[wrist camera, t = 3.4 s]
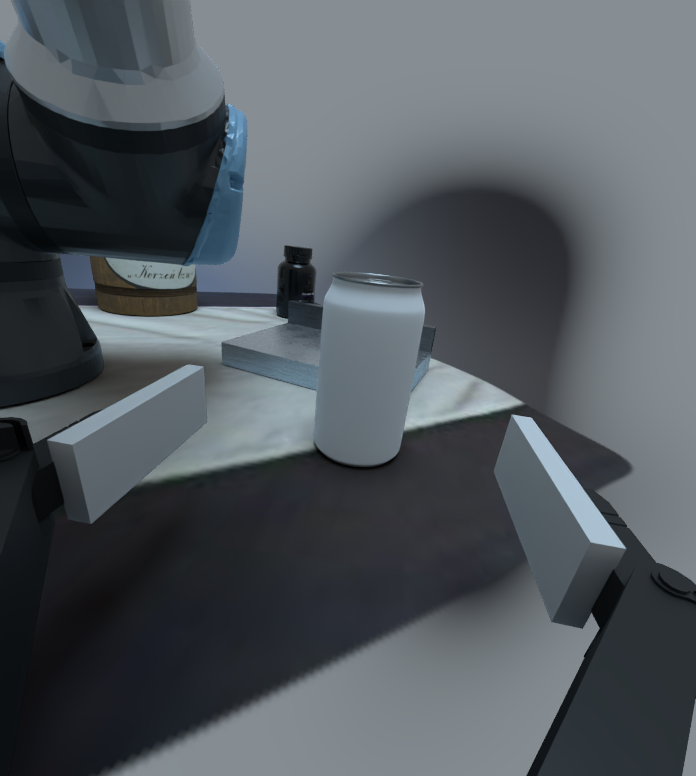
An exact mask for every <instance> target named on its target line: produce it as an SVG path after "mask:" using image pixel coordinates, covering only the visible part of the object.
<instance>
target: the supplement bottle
mask: <svg viewBox="0 0 696 776" xmlns="http://www.w3.org/2000/svg"><path fill="white" fill-rule="evenodd" d="M284 256H285V260H284V261H283V262H281V263H280V264H279V266H278V276H277V304H276V312H277V314H278V315H279V316H282V317H285V318H288V307H289V301H291V300H294V301H299V302H305V303H310V304H314V298H315V285H316V284H315V283H316V268H315V267H314V266H313V265H312V264H311V263H310V260H311V259H312V249H311V248H304V247H297V246H287V245H285V249H284Z"/></svg>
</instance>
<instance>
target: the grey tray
mask: <svg viewBox="0 0 696 776" xmlns="http://www.w3.org/2000/svg"><path fill="white" fill-rule="evenodd" d="M322 315H323V306H321V305H316V304H310V303H305V302H299V301H294V300H291V301H289V307H288V323H286V324H282V325H279V326H275V327H272V328H268V329H265V330H261V331H258V332H255V333H251V334H248V335H244V336H241V337H237V338H234V339H230V340H227V341H223V342H221V344H222V364H224V365H228V366H231V367H235V368H238V369H242V370H246V371H249V372H253V373H256V374H260V375H264V376H267V377H271V378H274V379H278V380H282V381H285V382H289V383H292V384H296V385H299V386H303V387H307V388H310V389H314V390H317V381H318V368H319V354H320V341H321V328H322ZM435 332H436V327H434V326H429V325H424V324H423V328H422V334H421V339H420V345H419V350H418V356H417V361H416V366H415V372H414V377H413V383H412V388H411V392H412V390H413V389H414V388H415V386H416V385H417V384H418V382H419V381H420V380H421V379H422V377H423V376H424V375H425V373H426V372H427V371H428V367H429V362H430V357H431V352H432V347H433V342H434V337H435Z"/></svg>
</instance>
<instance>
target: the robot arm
mask: <svg viewBox="0 0 696 776" xmlns="http://www.w3.org/2000/svg"><path fill="white" fill-rule="evenodd" d="M11 2H12V4H13V7H14V9H15V11H16V13H17V16H18V24H17V26H16V27H15V30H14V31H13V33H12V35H11V36H10V38H9V40H8V42H7V44H6V45H5V44H4V43H3V42H2V41H0V407H2V406H8V405H13V404H19V403H23V402H28V401H32V400H37V399H41V398H44V397H48V396H52V395H55V394H58V393H61V392H64V391H67V390H70V389H73V388H75V387H78V386H80V385H82V384H84V383H86V382H88V381H90V380H92V379H93V378H95V377H96V376H97V375H98V374H100V373H101V371H102V370H103V368H104V362H103V356H102V351H101V346H100V343H99V341H98V339H97V337H96V335H95V334H94V332H93V330H92V329H91V327H90V325H89V324H88V322H87V320H86V319H85V317H84V315H83V313H82V312H81V310H80V308H79V307H78V305H77V303H76V302H75V300H74V298H73V297H72V295H71V293H70V291H69V290H68V288H67V286H66V283H65V279H64V275H63V270H62V265H61V260H60V254H59V253H61V254H71V255H74V254H75V255H85V256H95V257H105V258H115V259H126V260H136V261H146V262H157V263H167V264H177V265H182V266H190V265H191V264H194V265H197V264H198V265H221V264H224V263H225V262H228V261H229V260H230V259H231V258H232V257H233V256H234V254H235V251H236V248H237V243H238V237H239V229H240V221H241V211H242V201H243V183H244V172H245V165H246V149H247V148H246V147H247V119H246V116H245V115H244V113H243V112H241V111H240V110H237V109H235V107H234V106H231V104H227V105H225V95H224V82H223V79H222V76H221V73H220V71H219V69H218V68H217V66H216V65H215V63H214V62H213V61H212V60H211V59H210V57H209V56H208V55H207V54H206V53H205V51H204V50H203V49H202V48H201V47H200V45H199V44H198V43H197V42H196V41H195V38H194V31H193V23H192V14H191V5H190V0H11ZM206 423H207V408H206V392H205V375H204V367H202V366H195V365H189V364H187V365H185V366H184V367H182V368H180V369H178V370H176V371H174V372H172V373H171V374H169V375H167V376H165V377H163V378H161V379H159V380H158V381H156V382H154V383H152V384H150V385H148V386H146V387H145V388H143V389H141V390H139V391H137V392H135V393H133V394H132V395H130V396H128V397H126V398H124V399H122V400H120V401H118V402H117V403H115V404H113V405H111V406H109V407H107V408H105V409H103V410H99V411H96V412H93V413H91V414H89V415H87V416H86V417H84V418H82V419H80V421H76V422H74V423H72V424H70V425H69V427H65V428H63V429H61V430H59V431H57V432H55V433H53V434H51V435H50V436H48V437H46V438H44V439H42V440H40V441H38V442H36V443H34V444H33V442H32V439H31V435H30V432H29V428H28V425H27V421H26V420H24V419H22V418H14V417H8V418H0V776H9V773H10V767H11V762H12V756H13V751H14V745H15V740H16V734H17V728H18V723H19V717H20V712H21V706H22V701H23V695H24V690H25V684H26V679H27V673H28V667H29V662H30V656H31V651H32V645H33V640H34V634H35V629H36V623H37V618H38V612H39V607H40V601H41V595H42V590H43V584H44V579H45V573H46V568H47V562H48V557H49V551H50V546H51V540H52V535H53V529H54V523H55V520H54V516H53V511H54V510H55V509H57V508H58V507H59V506H61V505H62V504H63V503H64V506H65V510H66V514H67V518H68V519H70V520H74V521H79V522H84V523H88V524H92V523H93V522H94V521H95V520H96V519H97V518H99V517H100V516H101V515H102V514H103V513H104V512H105V511H107V510H108V509H109V508H110V507H111V506H112V505H113V504H114V503H116V502H117V501H118V500H119V499H120V498H121V497H122V496H124V495H125V494H126V493H127V492H128V491H129V490H130V489H132V488H133V487H134V486H135V485H136V484H137V483H138V482H140V481H141V480H142V479H143V478H144V477H145V476H146V475H148V474H149V473H150V472H151V471H152V470H153V469H154V468H155V467H157V466H158V465H159V464H160V463H161V462H162V461H163V460H165V459H166V458H167V457H168V456H169V455H170V454H171V453H173V452H174V451H175V450H176V449H177V448H178V447H179V446H181V445H182V444H183V443H184V442H185V441H186V440H187V439H188V438H190V437H191V436H192V435H193V434H194V433H195V432H196V431H198V430H199V429H200V428H201V427H202V426H203V425H204V424H206ZM494 473H495V476H496V479H497V481H498V484H499V486H500V489H501V492H502V494H503V497H504V499H505V502H506V505H507V507H508V510H509V513H510V515H511V518H512V520H513V523H514V526H515V528H516V531H517V533H518V536H519V539H520V541H521V544H522V546H523V549H524V552H525V554H526V557H527V559H528V562H529V564H530V567H531V570H532V572H533V575H534V578H535V580H536V583H537V585H538V588H539V591H540V593H541V596H542V599H543V601H544V604H545V606H546V609H547V612H548V614H549V617H550V619H551V622H554V623H559V624H563V625H568V626H573V627H578V628H582V629H583V627H584V625H585V623H586V622H587V620H588V618H589V616H590V614H591V613H592V614H593V616H594V618H595V620H596V622H597V624H598V626H599V628H600V629H599V631H598V632H597V634H596V636H595V638H594V640H593V641H592V643H591V644H590V646H589V648H588V650H587V651H586V653H585V655H584V657H585V658H584V660H583V662H582V664H581V666H580V668H579V670H578V672H577V674H576V676H575V678H574V680H573V682H572V684H571V686H570V688H569V690H568V693H567V695H566V697H565V699H564V701H563V703H562V705H561V707H560V709H559V711H558V713H557V715H556V717H555V719H554V721H553V723H552V725H551V727H550V729H549V731H548V733H547V735H546V737H545V739H544V741H543V743H542V745H541V747H540V750H539V751H538V754H537V755H536V757H535V759H534V762H533V764H532V766H531V768H530V770H529V772H528V774H527V776H682V772H683V766H684V761H685V755H686V750H687V744H688V737H689V733H690V727H691V721H692V715H693V709H694V704H695V698H696V585H695V584H694V583H693V582H692V581H691V580H690V579H688V578H687V577H685V576H683V575H682V574H680V573H679V572H678V571H676V570H673V569H671V568H669V567H667V566H665V565H663V564H659V563H656V562H655V560H654V559H653V558H652V557H651V555H650V554H649V553H648V552H647V550H646V549H645V548H644V547H643V545H642V544H641V543H640V542H639V540H638V539H637V538H636V536H635V535H634V534H633V533H632V531H631V530H630V529H629V528H627V525H626V524H625V522H624V521H623V520H622V519H621V518H620V517H619V516H618V514H617V512H616V511H615V510H614V508H613V507H612V506H611V505H610V503H609V502H608V501H606V500H605V499H604V498H603V497H601V496H600V495H599V494H598V493H596V492H595V491H594V490H590V489H584V488H582V487H581V485H580V484H579V483H578V481H577V480H576V479H575V477H574V476H573V474H572V473H571V472H570V470H569V469H568V468H567V466H566V465H565V463H564V462H563V461H562V459H561V458H560V456H559V455H558V454H557V452H556V451H555V450H554V448H553V447H552V445H551V444H550V443H549V441H548V440H547V439H546V437H545V436H544V434H543V433H542V432H541V430H540V429H539V427H538V426H537V425H536V423H535V422H534V421H533V419H532V418H530V417H523V416H517V415H511V419H510V422H509V425H508V428H507V431H506V434H505V438H504V441H503V444H502V447H501V450H500V453H499V456H498V460H497V463H496V466H495V469H494Z"/></svg>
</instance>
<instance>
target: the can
mask: <svg viewBox="0 0 696 776" xmlns="http://www.w3.org/2000/svg"><path fill="white" fill-rule="evenodd" d="M332 275H333V277H334V279H333V283H332V285H331V287H330V289H329V290H328V292H327V294H326V296H325V298H324V305H323V315H322V328H321V341H320V354H319V368H318V381H317V395H316V409H315V424H314V441H315V444H316V446H317V447H318V448H319V449H320V450H321V452H322V453H323V454H324V455H325V456H327V457H328V458H329V459H331V460H333V461H335V462H337V463H340V464H343V465H347V466H353V467H374V466H378V465H382V464H384V463H386V462H388V461H389V460H391V459H392V458H394V457H395V456H396V455H397V453H398V452H399V449H400V445H401V441H402V436H403V430H404V425H405V420H406V415H407V409H408V404H409V399H410V393H411V388H412V383H413V377H414V372H415V366H416V361H417V356H418V350H419V345H420V339H421V334H422V328H423V322H424V314H425V307H424V303H423V299H422V296H421V287H423V283H421V282H419V281H415V280H411V279H406V278H400V277H394V276H387V275H379V274H369V273H357V272H356V273H355V272H335V273H333V274H332Z"/></svg>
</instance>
